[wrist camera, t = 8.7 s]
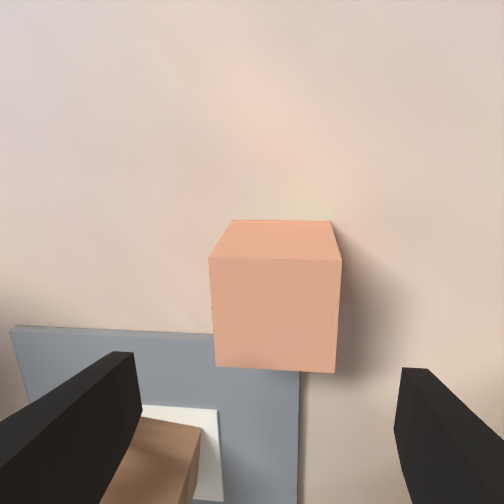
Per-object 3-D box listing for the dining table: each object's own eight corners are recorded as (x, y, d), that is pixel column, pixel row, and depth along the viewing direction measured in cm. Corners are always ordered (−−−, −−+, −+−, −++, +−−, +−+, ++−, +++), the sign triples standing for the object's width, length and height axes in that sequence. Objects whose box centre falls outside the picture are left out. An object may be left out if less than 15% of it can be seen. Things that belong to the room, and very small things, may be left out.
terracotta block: (236, 304, 19) (215, 366, 14) (232, 219, 17) (208, 257, 13) (325, 308, 18) (334, 373, 14) (330, 220, 17) (342, 260, 12)
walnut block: (126, 469, 23) (81, 560, 18) (125, 413, 21) (75, 497, 16) (196, 483, 22) (169, 579, 18) (201, 427, 21) (173, 517, 16)
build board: (71, 519, 26) (65, 531, 26) (16, 325, 21) (6, 333, 20) (295, 544, 24) (295, 558, 24) (300, 338, 19) (299, 347, 18)
